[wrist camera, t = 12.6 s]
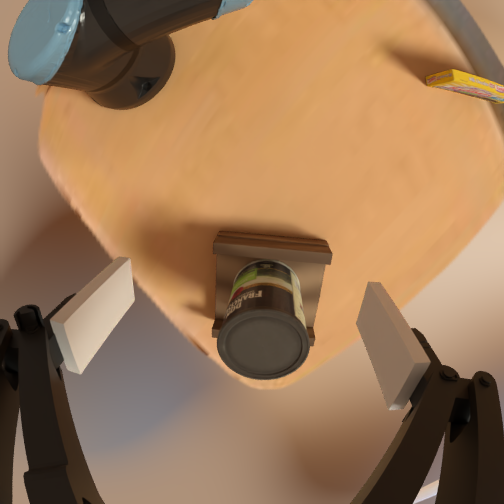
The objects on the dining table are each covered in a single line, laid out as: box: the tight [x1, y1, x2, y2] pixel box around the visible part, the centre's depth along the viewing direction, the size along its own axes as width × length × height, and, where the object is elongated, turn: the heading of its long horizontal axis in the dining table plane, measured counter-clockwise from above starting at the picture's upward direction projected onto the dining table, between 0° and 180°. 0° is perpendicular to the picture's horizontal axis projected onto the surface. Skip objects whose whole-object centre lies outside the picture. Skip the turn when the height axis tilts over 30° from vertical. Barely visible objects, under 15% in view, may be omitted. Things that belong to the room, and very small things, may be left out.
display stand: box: [212, 231, 332, 346], centre depth 43 cm, size 16×16×5 cm
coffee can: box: [217, 259, 310, 380], centre depth 37 cm, size 10×10×14 cm
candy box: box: [425, 69, 504, 103], centre depth 28 cm, size 16×2×8 cm, turn 95°
